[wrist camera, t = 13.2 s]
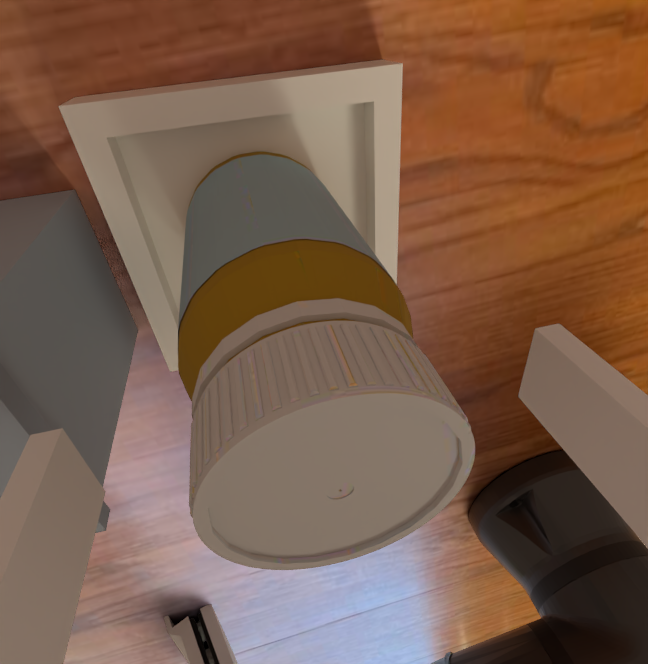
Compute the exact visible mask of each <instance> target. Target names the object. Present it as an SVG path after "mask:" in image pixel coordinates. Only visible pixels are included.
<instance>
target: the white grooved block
mask: <svg viewBox="0 0 648 664" xmlns="http://www.w3.org/2000/svg"><path fill="white" fill-rule="evenodd" d="M200 611H201V613H199V614H198V618H199V622H198V623H197V624H196V622H195V620H194V618H192V619H189V617H186V618H185V619H184V620H182V621H181V622H180V623H178V624H177V625H174V624H173V622H172V621H171V619H170V617H169V616H165V617H164V621H165V624H166V628H167V631H168V633H169V635H170V636H171V638H172V639H173V641H174V642H175V644H176V645H177V647H178V648H179V650H180V651H181V653H182V654H183V656H184V657H185V659H186V660H187V662H188V663H189V664H237V661H236V658H235V656H234V653H233V651H232V649H231V647H230V644H229V642H228V640H227V638H226V636H225V633H224V631H223V629H222V627H221V625H220V622H219V620H218V618H217V616H216V614H215V611H214V609H213V607H212V605H206V606H204V607H202V608H200ZM205 640H207V643H208V646H209V648H208V649H205V648H204V644H203V642H204V641H205Z"/></svg>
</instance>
